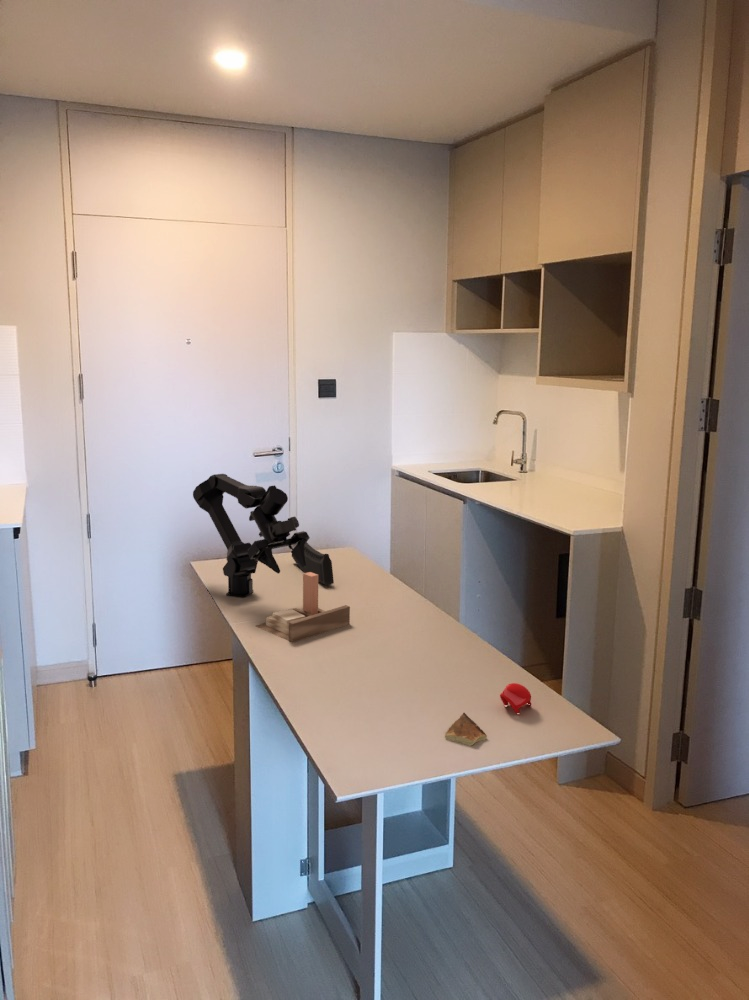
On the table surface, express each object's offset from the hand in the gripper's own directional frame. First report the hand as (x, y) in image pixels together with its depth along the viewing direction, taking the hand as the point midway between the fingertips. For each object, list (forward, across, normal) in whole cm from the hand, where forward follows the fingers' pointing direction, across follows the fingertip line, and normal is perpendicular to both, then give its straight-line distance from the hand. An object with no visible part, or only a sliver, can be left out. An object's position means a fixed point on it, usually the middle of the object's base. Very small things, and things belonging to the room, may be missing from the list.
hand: (292, 569), depth 225 cm
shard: (+64, -18, -44) cm, 80 cm away
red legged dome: (+65, -1, -45) cm, 79 cm away
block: (+14, 0, +3) cm, 15 cm away
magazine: (-9, +30, +28) cm, 42 cm away
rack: (+17, -4, +3) cm, 17 cm away
